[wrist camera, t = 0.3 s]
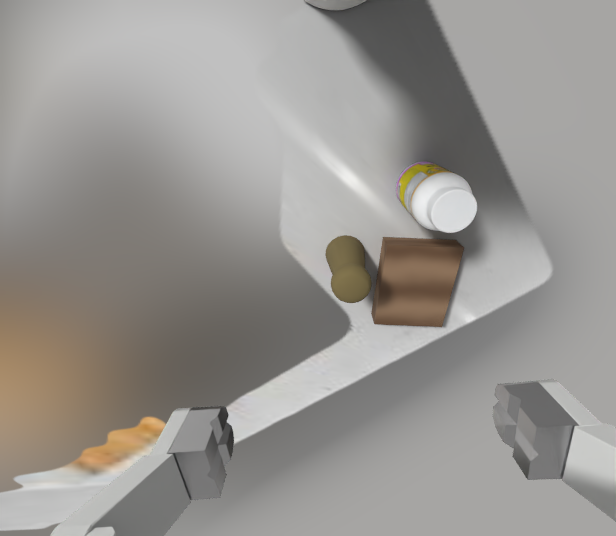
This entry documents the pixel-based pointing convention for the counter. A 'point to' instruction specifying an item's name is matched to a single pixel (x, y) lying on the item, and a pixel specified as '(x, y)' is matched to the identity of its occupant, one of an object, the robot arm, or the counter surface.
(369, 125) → the counter surface
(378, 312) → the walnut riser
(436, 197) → the supplement bottle
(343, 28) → the counter surface
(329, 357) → the counter surface
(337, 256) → the cork
